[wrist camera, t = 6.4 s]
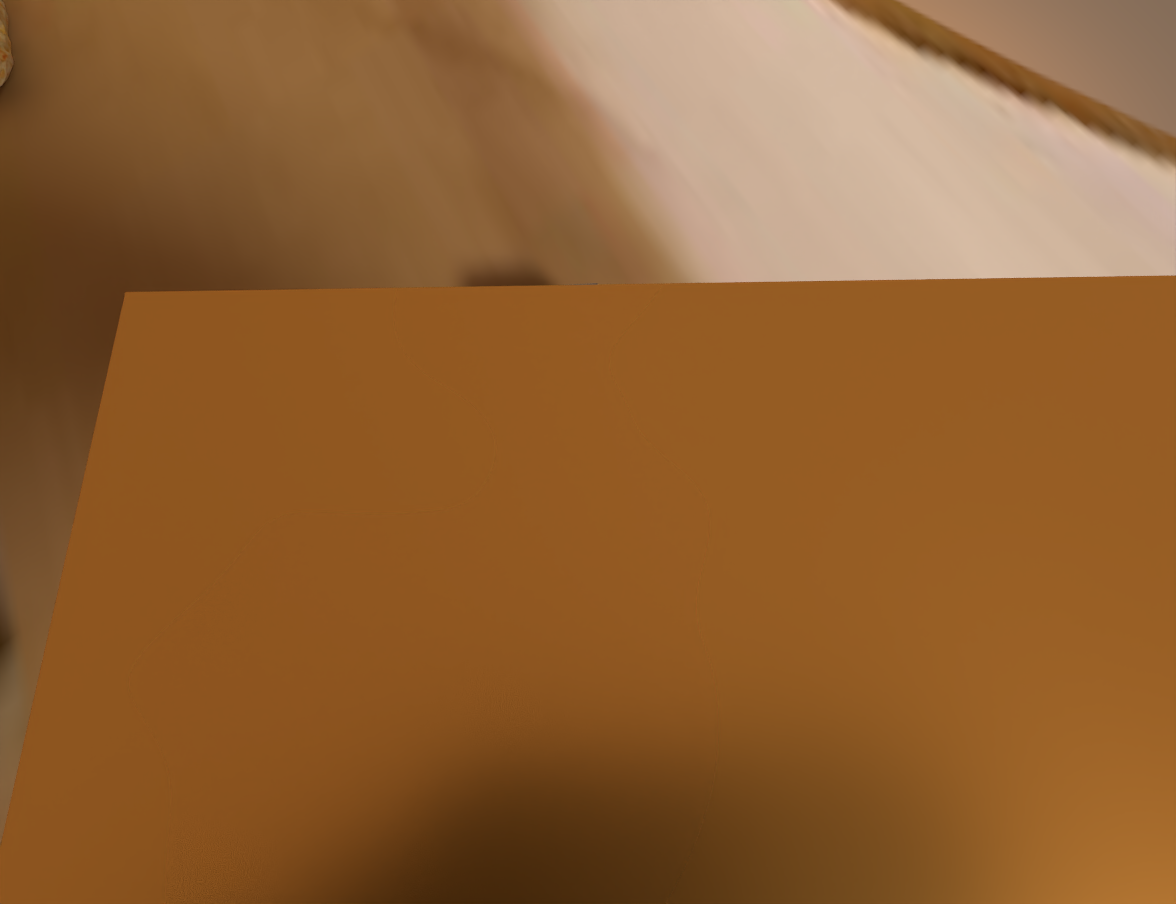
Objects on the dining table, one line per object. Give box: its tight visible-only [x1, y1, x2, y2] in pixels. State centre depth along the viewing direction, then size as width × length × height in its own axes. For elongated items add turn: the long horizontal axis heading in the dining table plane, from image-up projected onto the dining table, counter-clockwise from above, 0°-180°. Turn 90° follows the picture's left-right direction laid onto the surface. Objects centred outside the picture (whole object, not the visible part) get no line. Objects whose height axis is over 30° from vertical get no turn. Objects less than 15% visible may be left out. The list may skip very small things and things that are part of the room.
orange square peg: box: [0, 276, 1176, 904], centre depth 8 cm, size 5×5×13 cm
